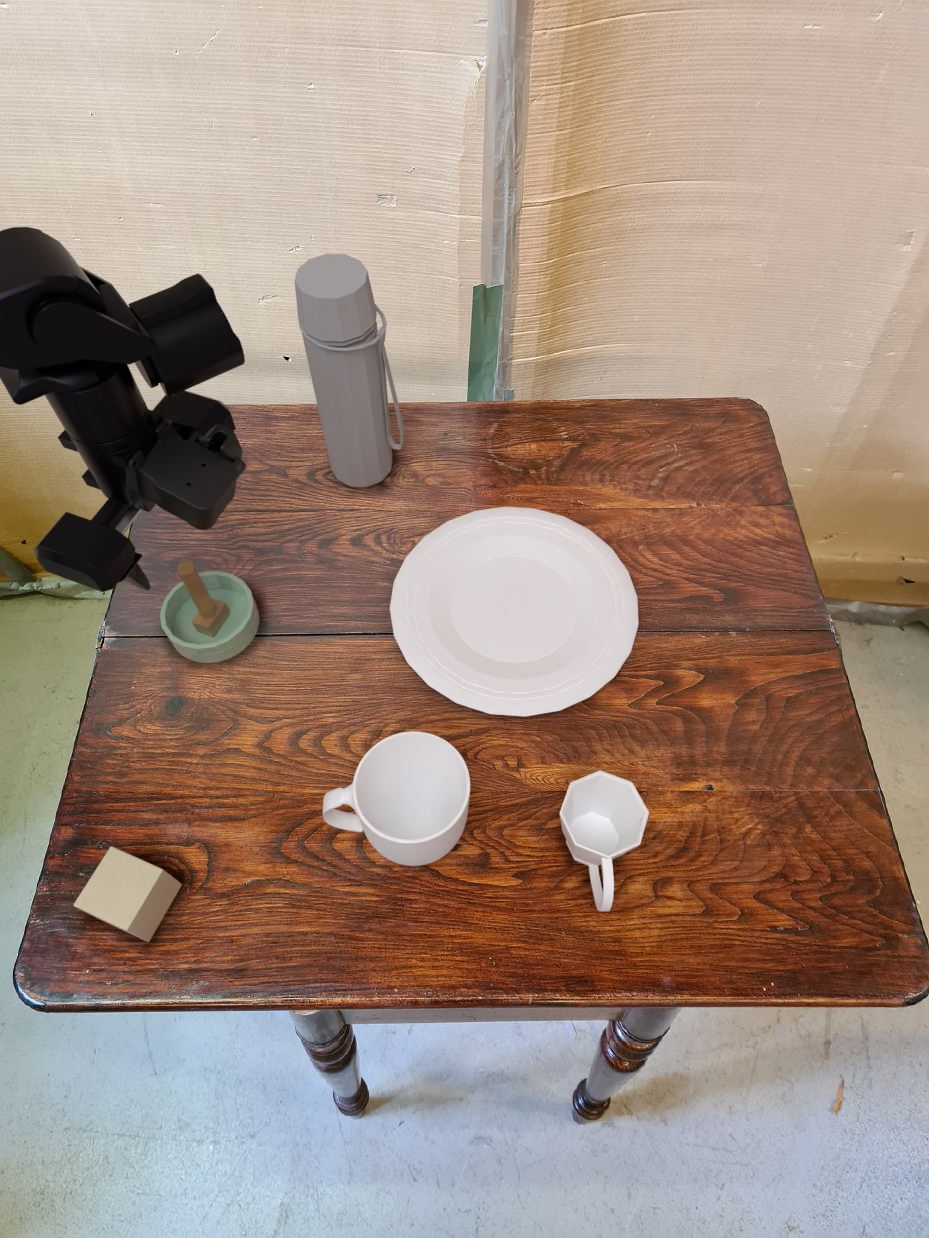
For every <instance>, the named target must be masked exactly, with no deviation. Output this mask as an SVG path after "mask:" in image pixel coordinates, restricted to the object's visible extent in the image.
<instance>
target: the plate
mask: <svg viewBox="0 0 929 1238" xmlns="http://www.w3.org/2000/svg"><path fill="white" fill-rule="evenodd" d="M629 572H630V571H629V570H628V568H627V567H626V566H625V564H623V562H622V561H621V559H620V557H619V556H618V555H617V553H616V552H615V551H614V549H613V548H612V546H610V545H609V544H607V543H606V542H605V541H604V540H603V539H601V538H600V537H599V536H598V535H597V534H596V533H594V531H592V530H591V529H589V528H587V527H585V526H584V525H581V524H579V523H578V522H575V521H574V520H573V519H570V518H568V517H566V516H564V515H561V514H557V513H553V512H550V511H546V510H543V509H539V508H535V507H517V506H516V507H515V506H499V507H492V508H487V509H486V508H485V509H479V510H473V511H471V512H467V513H466V514H463V515H460V516H457V517H455V518H453V519H449V520H447V521H446V522H444V523H442V524H441V525H440V526H438V527H437V528H434V529H433V530H432V531H431V532H429V533H428V534H425V535H424V536H423V537H422V538H421V540H420V541H419V542H418V543H417V544H416V545H415V546H414V547H413V549H411V551H410V552H409V553H408V554H407V555H406V556H405V558H404V559H403V562H402V564H401V566H400V568H399V570H398V572H397V574H396V577H395V578H394V580H393V583H392V591H391V597H390V603H389V613H390V620H391V625H392V626H391V627H392V633H393V637H394V639H395V641H396V644H397V645H398V647H399V650H400V651H401V653H402V656H403V658H404V660H405V661H406V663H407V665H408V666H409V667H410V668H411V669H412V671H414V673H415V674H416V675H417V676H419V679H421V680H422V681H423V682H424V683H425V684H426V685H427V686H428V687H429V688H430V689H431V690H433V691H435V692H437V693H438V694H440V695H442V696H443V697H445V698H446V699H448V700H449V701H451V702H452V703H454V704H456V705H458V706H462V707H465V708H468V709H471V710H474V711H477V712H480V713H483V714H487V715H489V716H501V717H516V718H529V717H534V716H540V715H547V714H552V713H558V712H561V711H563V710H565V709H568V708H570V707H572V706H575V705H577V704H580V703H581V702H583V701H586V700H588V699H590V698H592V697H593V696H595V694H596V693H598V692H599V691H600V690H601V689H602V688H604V687H605V686H606V685H607V684H608V683H610V682H611V681H613V679H615V677H616V676H617V674H618V673H619V671H620V670H621V668H622V666H623V665H624V664H625V663H626V660H627V659H628V658H629V656H630V655H631V653H632V650H633V647H634V643H635V639H636V636H637V631H638V628H639V626H640V625H639V603H638V602H639V599H638V598H639V597H638V595H637V592H636V589H635V586H634V584H633V581H632V579H631V575H630V573H629Z"/></svg>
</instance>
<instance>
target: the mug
mask: <svg viewBox="0 0 929 1238" xmlns="http://www.w3.org/2000/svg"><path fill="white" fill-rule="evenodd" d="M470 795H471V776H470V773H469V769H468V766H467V764H466V762H465V759H464V758H463V756H462V755H461V753H460V752H459V751H458V750H457V748H455V747H454V746H453V745H452V744H451V743H450V742H448V741H447V740H445V739H444V738H442V737H440V736H438V735H436V734H433V733H429V732H424V731H416V730H415V731H412V730H411V731H404V732H403V731H402V732H399V733H394V734H391V735H389V736H387V737H385V738H383V739H381V740H380V741H378V742H377V743H375V744H374V745H373V746H372V747H370V748H369V750H368V751H367V752H366V753H365V754H364V756H363V757H362V758H361V760H360V762H359V763H358V765H357V767H356V769H355V772H354V775H353V781H352V783H350V785H348V786H347V787H341V786H340V787H337V788H334V789H331V790H329V791H327V792H326V793H325V794H324V796H323V800H322V820H323V821H324V822H325V823H326V824H328V825H330V826H331V827H333V828H336V829H339V830H344V831H348V832H355V833H364V835H365V837H366V839H367V840H368V842H369V844H370V845H371V846H372V847H373V849H374V850H375V851H377V853H378V854H379V855H381V856H382V857H383V858H385V859H387V860H389V862H393V863H395V864H398V865H403V866H407V867H419V866H425V865H428V864H432V863H434V862H437V861H438V860H440V859H442V858H443V857H445V856H446V855H447V854H449V853H450V852H451V850H453V848H454V847H455V846H456V845H457V844H458V842H459V841H460V839H461V837H462V835H463V833H464V830H465V828H466V823H467V820H468V814H469V807H470ZM342 805H347V806H348V807H351V809H353V811H354V812H355V813H354V812H353V813H351V812H348V811H343V810H339V809H336V808H339V807H341V806H342Z"/></svg>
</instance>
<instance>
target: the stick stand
mask: <svg viewBox="0 0 929 1238" xmlns="http://www.w3.org/2000/svg"><path fill="white" fill-rule="evenodd" d="M182 886H183V884H182V883H181V882H180V881H179V880H178V879H176V878H175V877H174V876H172V875H171V874H170V873H168V871H166V870H165V869H163V868H161V867H159V866H157V865H154V864H152V863H150V862H148V861H146V860H143V859H142V858H139V857H138V856H137V857H136V856H135V855H132V854H130V853H128V852H125V851H123V850H121V849H119V848H116V847H115V846H113V845H111V846H110V847H109V848H108V850H107V851H106V853H105V855H104V856H103V858H102V859H101V861H100V862H99V864H98V865H97V867H96V869H95V870H94V871H93V873H92V875H91V876H90V878H89V879H88V881H87V883H86V884H85V885H84V887H83V889H82V890H81V892H80V893H79V895H78V897H77V898H76V900H75V901H74V903H73V907H75V908H76V909H78V910H80V911H82V912H84V913H86V914H88V915H90V916H92V917H94V918H96V919H97V920H100V921H102V922H104V923H107V924H108V925H110V926H112V927H114V928H117V929H119V930H121V931H123V932H125V933H127V934H129V935H132V936H134V937H137V938H138V939H140V940H142V941H145V942H147V943H150V941H151V940H152V938H153V936H154V934H155V933H156V931H157V929H158V927H160V924H161V922H162V921H163V919H164V917H165V915H166V914H167V912H168V910H169V908H170V907H171V905H172V903H173V902H174V899H175V898H176V897H177V895H178V893H179V891H180V889H181V888H182Z"/></svg>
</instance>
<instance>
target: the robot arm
mask: <svg viewBox="0 0 929 1238" xmlns="http://www.w3.org/2000/svg"><path fill="white" fill-rule="evenodd" d="M216 296H217V295H216V294H215V290H214V288H213V287H212V286H211V284H210V283H209V282H208V281H207V280H206V279H205V277H204V276H203V275H202V274H200V273H199V272H197V273H194V274H193V275H190V276H188V277H185V278H183V279H181V280H180V281H178V282H177V283H175V284H174V285H172V286H170V287H167V288H165V289H162V290H160V291H157V292H154V293H152V294H150V295H147V296H145V297H142V298H139V299H137V300H135V301H132V302H130V303H128V304H127V302H126V301H125V299H124V298H123V297H122V295H121V294H120V293H119V292H118V290H117V289H116V287H115V286H114V285H113V284H112V283H111V282H109V281H107V280H105V279H104V278H102V277H100V276H98V275H97V274H95V273H93V272H91V271H89V270H88V269H86V268H84V267H82V266H80V265H79V263H78V262H77V261H76V260H75V258H74V257H73V255H72V254H71V252H70V251H68V249H67V248H66V247H65V246H64V245H63V244H62V243H61V241H59V240H57V239H56V238H54V237H53V236H51V235H49V234H47V233H46V232H44V231H43V230H41V229H38V228H35V227H31V226H12V227H9V228H6V229H2V230H0V381H1V382H2V384H3V386H4V388H5V389H6V391H7V393H8V395H9V396H10V398H11V400H12V401H13V403H14V404H15V405H18V406H21V405H24V404H27V403H30V402H32V401H34V400H36V399H40V398H41V397H45V398H46V401H47V402H48V404H49V406H50V407H51V408H52V410H53V412H54V414H55V415H56V417H57V419H58V420H59V422H60V424H61V426H62V427H63V428H64V430H63V431H62V432H61V433H60V434H59V435H58V436H57V439H58V441H59V443H60V444H61V446H62V447H63V448H65V449H67V450H71V451H73V452H76V453H78V454H79V455H80V457H81V459H82V460H83V462H84V464H85V466H86V467H87V469H86V471H85V472H84V473H82V475H81V478H82V479H83V481H84V483H85V484H86V486H88V487H90V488H94V489H96V490H100V491H101V492H102V494H103V496H105V497H106V498H107V500H106V501H105V502H104V504H103V505H102V506H101V507H100V508H99V510H98V511H97V512H96V513H95V515H94V516H93V517H92V518H91V519H88V518H85V517H84V516H83V517H82V516H80V515H77V514H74V513H72V512H68V511H66V512H64V513H63V514H62V515H61V516H60V517H59V518H58V519H57V521H56V522H55V523H54V524H53V525H52V526H51V528H49V530H48V531H47V532H46V533H45V534H44V536H43V537H42V538H41V539H40V541H39V542H38V543H36V545H35V546H34V548H33V552H34V556H35V559H36V561H37V562H38V563H39V565H40V566H41V567H42V568H43V569H44V570H45V572H46V573H50V574H52V575H55V576H58V577H60V578H63V579H66V580H69V581H71V582H74V583H76V584H79V585H82V586H85V587H87V588H89V589H92V590H96V591H98V592H100V593H106V592H107V591H110V590H114V589H115V587H116V586H117V585H118V584H119V583H123V582H124V581H126V582H128V583H129V584H131V585H133V586H135V587H137V588H139V589H141V590H145V591H148V592H149V591H150V589H151V588H152V586H151V584H150V581H149V578H148V577H147V575H146V574H145V572H144V570H143V569H142V567H141V566H140V565H139V562H140V560H141V559H142V557H143V554H142V553H139V552H136V547H135V545H134V544H133V542H132V540H131V539H130V538H128V537H127V536H126V535H124V534H125V533H126V532H127V531H128V529H130V527H131V525H132V524H133V523H134V522H135V520H136V519H137V518H138V517H139V515H141V513H142V512H143V511H144V512H147V513H150V512H151V511H152V509H154V507H155V506H157V507H158V508H160V509H162V510H163V511H165V512H167V513H169V514H171V515H173V516H174V517H176V518H178V519H180V520H182V521H183V522H186V523H187V524H189V525H190V526H191V527H192V528H194V529H196V530H200V531H206V530H209V529H211V528H213V527H214V526H215V525H216V524H217V522H218V520H219V518H220V516H221V515H222V513H223V512H224V511H225V510H226V508H227V506H229V504H230V503H231V502H232V501H233V500H234V498H235V495H236V489H237V481H238V479H239V478H240V477H241V475H242V474H243V473H244V471H245V470H246V469H247V464H246V462H244V461H243V459H242V458H243V457H242V456H243V447H242V446H241V443H240V440H239V439H238V437H237V434H236V433H235V430H237V428H236V424H235V422H234V419H233V416H232V412H231V410H230V408H229V407H228V406H227V405H226V404H225V403H224V402H223V401H221V400H219V399H216V398H213V397H209V396H206V395H203V394H200V393H196V392H194V391H193V392H192V391H189V389H191V388H193V387H195V386H199V385H200V384H202V383H204V382H207V381H209V380H212V379H214V378H216V377H218V376H221V375H223V374H226V373H227V372H230V371H231V370H234V369H236V368H239V367H241V366H243V365H245V363H246V357H245V353H244V349H243V346H242V342H241V340H240V337H239V336H238V335H237V334H236V333H235V332H234V329H233V328H232V325H231V323H230V321H229V319H228V317H227V316H226V314H225V312H224V310H223V308H222V306H221V305H220V303H219V302H218V299H217V297H216ZM132 364H135V366H136V368H137V369H138V372H139V373H140V375H141V377H142V378H143V380H144V382H145V383H146V384H147V385H148V387H149V388H150V389H154V388H157V387H158V386H160V387H161V389H162V391H163V393H164V395H163V396H162V397H161V399H160V400H159V401H158V402H157V403H156V404H155V406H154V407H153V408H152V409H149V408H148V406H147V404H146V401H145V399H144V397H143V395H142V393H141V391H140V389H139V386H138V384H137V382H136V380H135V378H134V375H133V373H132V371H131V369H130V366H129V365H132Z"/></svg>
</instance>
